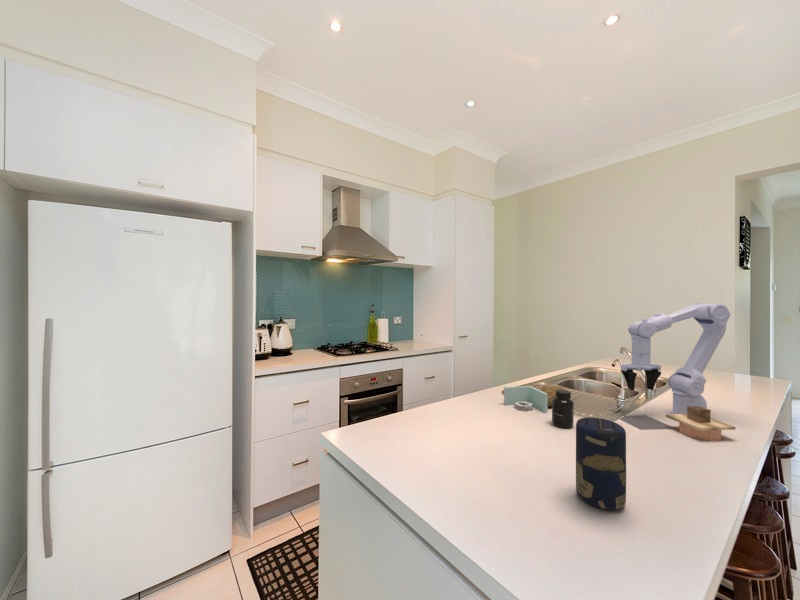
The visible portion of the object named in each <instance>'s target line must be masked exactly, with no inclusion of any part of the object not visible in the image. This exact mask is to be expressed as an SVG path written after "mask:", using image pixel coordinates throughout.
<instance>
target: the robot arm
mask: <svg viewBox="0 0 800 600" xmlns="http://www.w3.org/2000/svg"><path fill="white" fill-rule="evenodd" d="M730 317H731V312H730V310H729V308H728V306H726V304H723V303H700V302H697V303H695V304H690V305H688V306H686V307H684V308H681V309H679V310H676V311H675V312H672V313H669V314H665V313H658V312H657V313H655V314H654V316H651V317H648V318H647V317H646V318H645V317H644V318H642V320H641V321H638V320H635V321H633V322H631V324H630V325H629V328H627V330H628V334H630V339H631V363H628V364H626V363H625V364H620V373H621V374H622V376H623V377H624V379H625V381H626V385H627V389H628V390H629V391H634V390H635V389H636V388H635V387H636V378H637V375H638V373H637V372H634V371H644V373H645V378H646V389H647V390H651V391H654V390H655V389H654V388H655V385H656V382H657V381H658V380H659V378H660V376H662V365H660V364H654V363H653V364H651V345H652V344H651V343H652V342H651V337H653V336H654V335H655V334H656V333H658V332H662V331H665V330H668V329H670V328H671V327H672V326H673V324H675V323H678V322H682V321H684V320H689V319H694V320H695V322H697V323H698V325H699V326H700V327H701V328H702V329H703V331H702V333H701V335H700V336H699V338H698V340H697V342H696V344H695V346H694V348H693V349H692V351H691V353H690V355H689V357H688V358H687V360H686V362H685V364H684V366H682V367H680V368H677V369H676V370H675V372H674V373H673V374H671V375H670V376H669V377H668V380H667V384H668V386H669V388H671V392H672V412H666V414H687V406H700V407H703V408H706V409H708V408H707V407H708V406H707V405H708V404H707V400H706V398H705V397H704V396H702V394H703V393H704V391H705V384H706V382H707V379H706V378H705V376H704V375H703V373H704V371H705V370H706V367H707V366H708V364H709V363H710V361H711V359H712V356H713V355H714V353H715V351H716V349H717V348H718V346H719V345H720V342H721V341H722V339H723V336H724V335H725V333H726V329H727V323H728V320H729V319H730Z"/></svg>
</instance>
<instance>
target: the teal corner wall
mask: <svg viewBox="0 0 800 600" xmlns="http://www.w3.org/2000/svg"><path fill="white" fill-rule="evenodd" d="M503 391H504V392H503V404H504V406H514V409H516V410H518V411H522V412H523V411H525V412H530V411H532V410H533V408H535V409H537V410H538V411H540V412H543V413H544V414H548V411H549V410H548V408H549V407H548V394H546V393H544V392H542V391H540V389H538V388H535V387H533V386H531V385H526V386H525V385H522V386H504V387H503Z"/></svg>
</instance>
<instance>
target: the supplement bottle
mask: <svg viewBox="0 0 800 600" xmlns="http://www.w3.org/2000/svg"><path fill="white" fill-rule="evenodd" d="M566 390H567V389H566ZM566 390H556V394H555V396H556V397H555V398H554V399H553V400H552V406H551V424H552V425H553V426H555V427H557V428H560V429H564V430H565V429H566V430H567V429H568V430H569V429H572V428H573V427H574V416H575V415H574V413H575V403H574V401H573V400H572V399H571V398H572V393H571V391H570V390H567V391H566Z"/></svg>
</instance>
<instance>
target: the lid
mask: <svg viewBox="0 0 800 600" xmlns="http://www.w3.org/2000/svg"><path fill="white" fill-rule="evenodd" d="M711 415H712V414H711V409H708V408H707V409H706V408H703V407H700V406H687V414H665V417H666V418H667V419H670V420H673V421H675V422H677V423H679V422H680V423H682V424H685V425H687V426H690V427H692V428H694V429H697V430H699V431H701V430H721V431H731V430H732V431H735V430H736V426H734V425H731V424H728V423H726V422H722V421H720V420H716V419H714V418H712V417H711Z"/></svg>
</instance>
